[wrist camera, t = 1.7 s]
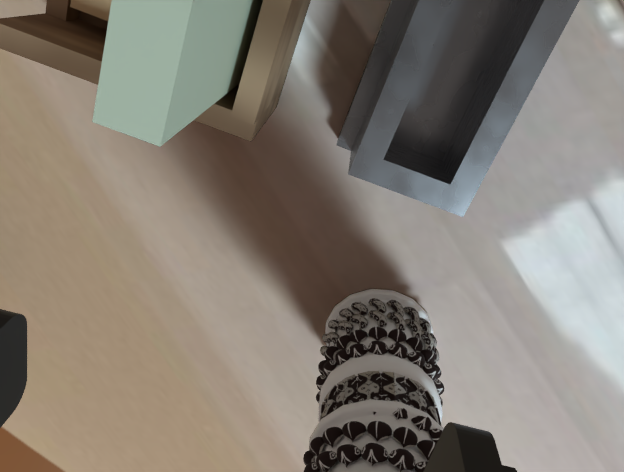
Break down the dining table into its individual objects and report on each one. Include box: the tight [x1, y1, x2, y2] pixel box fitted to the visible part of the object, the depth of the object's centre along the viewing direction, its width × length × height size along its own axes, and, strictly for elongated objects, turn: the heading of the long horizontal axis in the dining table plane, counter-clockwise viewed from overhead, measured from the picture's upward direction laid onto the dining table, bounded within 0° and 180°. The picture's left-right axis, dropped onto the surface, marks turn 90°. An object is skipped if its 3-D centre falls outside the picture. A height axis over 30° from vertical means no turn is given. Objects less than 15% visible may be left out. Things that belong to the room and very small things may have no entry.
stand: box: [337, 0, 579, 217], centre depth 30 cm, size 15×9×6 cm, turn 161°
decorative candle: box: [304, 289, 444, 472], centre depth 31 cm, size 9×9×25 cm
